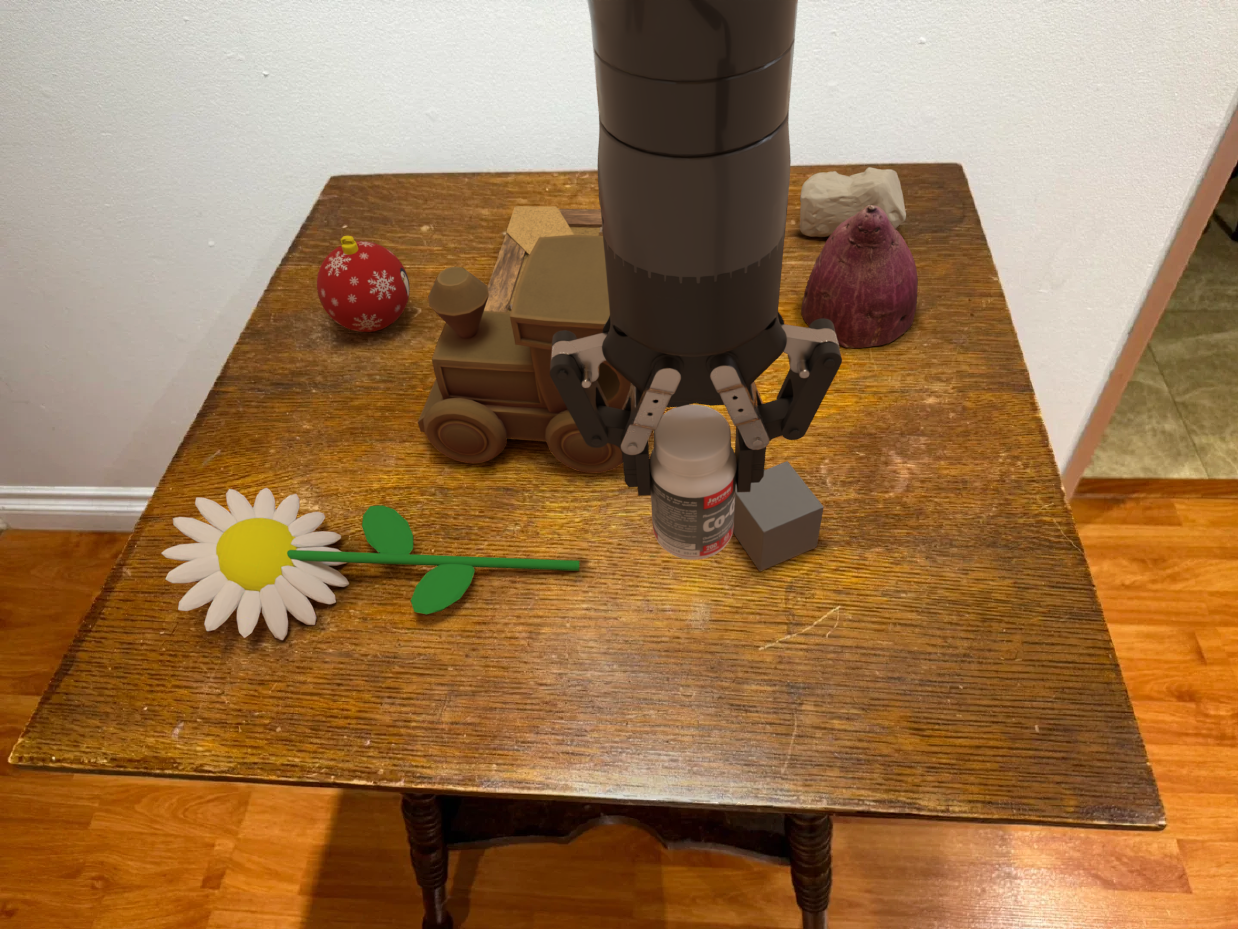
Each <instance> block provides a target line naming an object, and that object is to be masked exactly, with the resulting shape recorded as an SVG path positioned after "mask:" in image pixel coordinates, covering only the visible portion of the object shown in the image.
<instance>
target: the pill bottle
mask: <svg viewBox="0 0 1238 929" xmlns="http://www.w3.org/2000/svg"><path fill="white" fill-rule="evenodd" d="M649 457H650V460H649V466H650V485H651V496H650V502H651V503H650V504H651V520H652V521H651V524H652V530H653V535H654V538H655V540H656V542H657V543H658V544H659V546H660V547H661V548H662V549H663V550H664V551H666V552H667V553H669V554H671V555H672V556H674V557H676V558H679V559H682V560H687V561H688V560H690V561H699V560H705V559H709V558H710V557H713V556H716V555H717V554H718V553H721V551H722V550H724V548H726V547H727V545H728V544H729V542H730V541H731V539H732V537H733V534H734V533H733V528H734V508H735V490H736V472H737V462H736V456H735V449H733V446H732V432H731V427H730V424H729V421H728V420H727V419H726V417H725V416H724V415H723V414H722V413H721V412H719V411H718V410H716V409H715V408H712V407H711V406H710V407H709V406H707V405H703V404H689V405H685V406H681V407H672V408H671V409H669V410H667V411H666V412H664V413H663V416H662V418H661V420H660V422H659V425H658V427H657V429H656V430H653V448H652V450H651V453H650V454H649Z"/></svg>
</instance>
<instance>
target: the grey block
mask: <svg viewBox="0 0 1238 929" xmlns="http://www.w3.org/2000/svg"><path fill="white" fill-rule="evenodd" d="M824 508H825V507H824V505H823V504H822V503H821V501H820V500H819V499H818V497H817V496H816V495H815V494H814V492H813V491H812V490H811V488H809V486H808V485H807V484H806V483H805V480H803V478H802V477H801V476H800V475H799V473H798V472H797V471H796V469H794V467H793V466H792V465H791V464H790V462H789V461H788V460H786V461H784V462H781V463H779V464H776V465H774V466H771V467H768V468H767V469H764V476H763V478H762V479H761V481H760V482H759V483H751V491H750V492H737V487H736V490H735V508H734V528H733V533H732V534H733V535H734V536H735V537H736V539H737V541H738V542H739V544H740V546H742V548H743V549H744V551H745V552H746V554H747V555H748V556H749V558H750V560H751V561H752V563H753V564H754V565H755V567H756V568H757V569H758V571H759V572H762V571H764V570H767V569H769V568H771V567H774V566H776V565H778V564H781V563H783V562H786V561H788V560H790V559H793V558H795V557H797V556H800V555H802V554H804V553H806V552H809V551H811V550H813V549H816V548H817V547H818V542H819V536H820V530H821V524H822V520H823V512H824Z"/></svg>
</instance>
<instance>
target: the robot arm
mask: <svg viewBox="0 0 1238 929" xmlns="http://www.w3.org/2000/svg"><path fill="white" fill-rule="evenodd" d="M586 2H587V6H588V7H587V8H588V13H589V18H590V20H589V21H590V29H591V42H592V49H593V50H592V51H593V52H592V53H593V63H594V74H595V75H594V76H595V86H596V99H597V110H598V126H599V127H598V148H597V164H596V165H597V184H598V185H597V187H598V201H599V207H600V208H599V209H601V219H602V231H603V242H604V253H605V263H606V275H607V286H608V297H609V308H610V316H609V318H608V320H607V322H606V323H605V325H604V327H603V332H602V333H600V334H596V335H592V336H588V337H584V338H581V339H577V337H576V335H575V334H574V333H572V332H570V331H566V330H562V331H558V332H556V333H555V334H554V336H553V338H552V351H551V363H550V377H551V379H552V381H553V382H554V384H555V386H556V388H557V390H558V392H559V394H560V396H561V398H562V399H563V401H564V403H565V405H566V407H567V409H568V411H569V413H570V415H571V416H572V418H573V420H574V422H575V424H576V426H577V428H578V430H579V432H580V434H581V435H582V437H583V439H584V441H585V443H586V444H587V445H588V446H590V447H593V448H600V447H603V446H605V445H606V444H607V443H610V444H613V445H616V446H618V447H619V448H620V449H621V451H622V459H623V463H622V468H623V479H624V480H623V482H624V483H625V484H626V486H627V487H628V488H637V496H638V497H646V496H649V497H651V485H650V466H649V460H650V443H649V439H650V436H651V434H652V432H653V431H654V430H656V429H657V427H658V425H659V422H660V420H661V418H662V416H663V414H665V411H666V409H667V408H668V409H669V408H676V407H681V406H685V405H702V406H710V407H712V406H713V407H714V406H724V407H725V410H726V412H727V414H728V415H729V417H730V419H731V420H730V421H731V422H732V424H733V425H734V427H735V441H734V442H735V443H734V453H735V456H736V462H737V472H736V487H737V492H750V491H751V483H759V482H760V481H761V479H762V478H763V476H764V470H765V465H766V453H767V452H766V451H767V447H768V446H769V444H770V442H771V441H772V440H774V439H776V438H779V437H782V438H784V439H785V440H788V441H797V440H800V439H802V438H803V437H804V436H806V433H807V432H808V430H809V428H810V426H811V424H812V422H813V420H814V418H815V416H816V414H817V412H818V410H819V408H820V406H821V404H822V403H823V401H824V399H825V396H826V395H827V392H828V391H829V389H830V386H831V385H832V383H833V381H834V379H835V377H836V376H837V373H838V371H839V370H840V367H841V365H842V363H843V358H842V354H841V351H840V350H841V349H840V345H839V344H838V340H837V335H836V333H835V329H834V325H833V322H832V321H830V320H829V319H825V318H822V319H817V320H815V321H813V322H812V323H811V324H810V326H809V325H808V327H804V326H798V325H791V324H785V321H784V318H783V316H782V314H781V313H780V311H779V304H780V294H781V293H780V292H781V281H782V270H783V258H784V250H785V249H784V248H785V238H786V228H787V227H786V225H787V216H788V205H789V192H790V183H791V182H790V180H791V163H792V161H791V141H790V140H791V139H790V124H789V123H790V122H789V118H790V101H791V90H792V78H793V65H794V53H795V43H796V42H795V41H796V28H797V18H798V5H799V0H586ZM782 354H786V355H787V358H788V363H789V364H788V365H789V370H788V371H787V374H786V375H785V378H784V380H783V383H782V384H781V386H780V389H779V391H778V394H777V396H776V399H774V400H771V401H768V402H763V399H762V397H761V394H760V391H759V390H758V387H757V385H756V380H758V378H759V377H760V376H762V374H764V372H766V371H767V369H768V368H770V366H771V365H772V364H774V362H775V361H777V360H778V359H779V358H780V356H782ZM605 360H606V361H607V362H608V363H609V364H610V365H611V366H612V367H614V368H615V369H616V370H617V371H618V372H619V373H620V374H621V375H622V376H624V377H625V378H626V379H627V380H628V381H629V382H630V383H631V386H630V390H629V393H628V395H627V398H626V400H625V403H624V405H623V408H622V409H617V408H612V407H609V404H608V402H607V400H606V398H605V396H604V394H603V392H602V389H601V387H600V385H599V383H598V381H597V379H598V377H599V365H600V364H601V363H602V362H603V361H605Z"/></svg>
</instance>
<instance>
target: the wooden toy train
mask: <svg viewBox="0 0 1238 929" xmlns="http://www.w3.org/2000/svg"><path fill="white" fill-rule="evenodd" d="M488 297H489V292H488V285H487V284H486V283H485V282H483V281H482V280H481V279H479V278H478V277H477V276H475V275H474V274H473V273H471V272H470V271H469V270H468V269H466V268H465V267H463V266H462V267H461V266H451V267H446V268H445V269H443V270H440V272H439V273H438V275H437V276H436V278H435V281H434V283H433V285H432V287H431V289H430V291H429V293H428V297H427V298H428V306H429V307H430V309H432V311H434V312H435V313H436V314H437V316H439V318H440V319H442V320H443V321H444V325H443V328H442V330H441V332H440V334H439V336H438V340H437V342H436V345H435V347H434V351H433V354H432V357H431V363H432V369H433V373H434V376H435V380H434V382H433V385H432V387H431V389H430V392H429V395H428V397H427V399H426V401H425V404H424V406H423V408H422V411H421V413H420V416H419V417H418V420H417V425H418V428H419V431H420V432H421V433H424V434H425V436H426V438H427V440H428V442H429V443H430V444H431V445H432V446H433V447H434V448H435V449H436V450H437V451H438V452H439V453H440V454H442V455H444V456H445V457H447V458H449V459H452V460H454V461H457V462H461V463H466V464H481V463H482V464H483V463H485V462H489V461H492V460H493V459H495V458H496V457H497V456H498V455H500V454H501V453H503V451H504V449H505V447H506V446H507V439H508V440H509V439H511V440H522V441H523V440H524V441H536V442H537V441H538V442H545V443H546V444H547V447H548V449H549V451H550V453H551V454H552V455H553V456H554V458H555V459H556V460H557V461H558V462H560V463H561V464H563V465H565V466H566V467H567V468H570V469H572V470H574V471H577V472H583V473H587V474H601V473H602V474H603V473H605V472H609V471H613V470H615V469H616V468H617V467H619V466H621V465H623V459H622V451H621V449H620V448H619V447H618V446H616V445H613V444H610V443H607V444H606V445H605V446H603V447H600V448H593V447H590V446H588V445H587V444H586V443H585V441H584V439H583V437H582V435H581V434H580V432H579V430H578V428H577V426H576V424H575V422H574V420H573V418H572V416H571V415H570V413H569V411H568V409H567V407H566V405H565V403H564V401H563V399H562V398H561V396H560V394H559V392H558V390H557V388H556V386H555V384H554V382H553V381H552V379H551V377H550V363H551V351H552V338H553V336H554V334H555V333H556V332H558V331H562V330H566V331H570V332H572V333H574V334H575V335H576V337H577V339H581V338H584V337H588V336H592V335H596V334H600V333H602V332H603V327H604V325H605V323H606V322H607V320H608V318H609V316H610V308H609V297H608V286H607V275H606V263H605V253H604V242H603V236H591V235H564V236H551V237H539V239H538V240H537V242H536V244H535V246H534V248H533V249H532V251H531V253H530V255H529V257H528V259H527V262H526V264H525V267H524V270H523V272H522V275H521V278H520V280H519V283H518V286H517V288H516V292H515V296H514V301H513V305H512V310H511V312H494V311H484V309H485V306H486V303H487V300H488ZM597 381H598V383H599V385H600V387H601V389H602V392H603V394H604V396H605V398H606V400H607V402H608V404H609V407H612V408H617V409H622V408H623V405H624V403H625V400H626V398H627V395H628V393H629V390H630V386H631V383H630V382H629V381H628V380H627V379H626V378H625V377H624V376H622V375H621V374H620V373H619V372H618V371H617V370H616V369H615V368H614V367H612V366H611V365H610V364H609V363H608V362H607V361H606V360H605V361H603V362H602V363H601V364H600V365H599V377H598V379H597Z"/></svg>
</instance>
